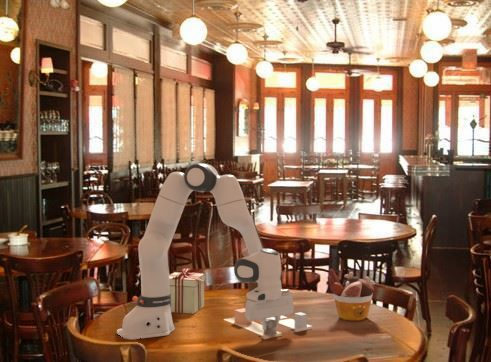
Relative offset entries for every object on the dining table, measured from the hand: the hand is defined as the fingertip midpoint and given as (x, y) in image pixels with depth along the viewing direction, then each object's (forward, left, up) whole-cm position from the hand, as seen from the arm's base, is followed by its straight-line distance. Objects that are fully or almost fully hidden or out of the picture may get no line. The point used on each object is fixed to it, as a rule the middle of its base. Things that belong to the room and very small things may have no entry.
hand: (270, 328), depth 252 cm
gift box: (-5, +57, -3) cm, 57 cm away
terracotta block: (0, +19, -2) cm, 19 cm away
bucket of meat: (+43, +3, -3) cm, 43 cm away
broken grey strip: (+15, +14, -3) cm, 21 cm away
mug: (+29, +49, -3) cm, 57 cm away
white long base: (0, +13, -3) cm, 13 cm away
